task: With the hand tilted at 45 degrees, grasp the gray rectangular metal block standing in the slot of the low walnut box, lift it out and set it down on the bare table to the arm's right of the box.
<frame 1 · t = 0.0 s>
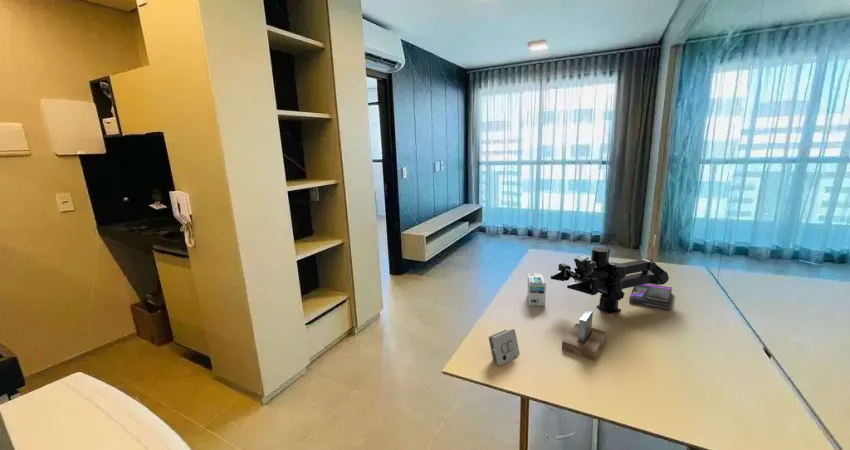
hand: (558, 281, 126), 17 cm above the table, tool horizontal, fingers open, 9 cm apart
light bulb box: (535, 300, 148), on the table
gray rectangular metal block: (584, 344, 113), point 1 cm above the table, touching walnut slot box
electrical switch: (503, 358, 110), on the table
box: (650, 299, 145), on the table
walnut slot box: (584, 347, 113), on the table
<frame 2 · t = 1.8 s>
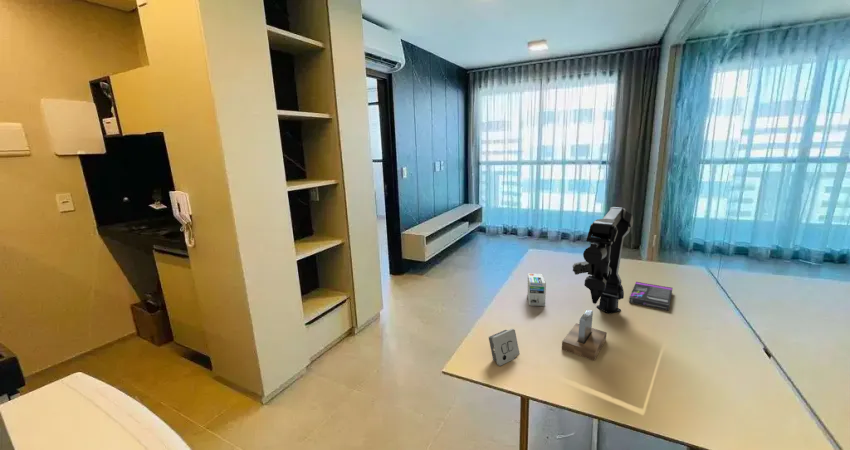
hand: (596, 298, 120), 13 cm above the table, tool pointing down, fingers open, 9 cm apart
nothing on the table moved.
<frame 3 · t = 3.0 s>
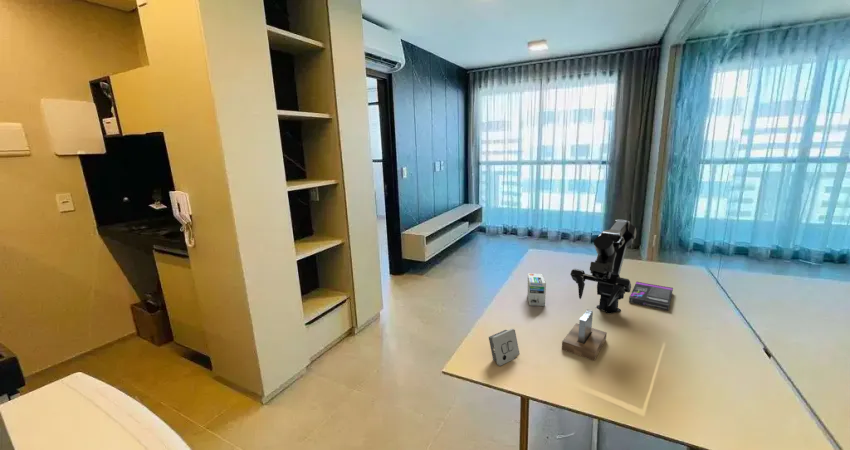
hand: (593, 302, 116), 13 cm above the table, tool tilted 45°, fingers open, 9 cm apart
nothing on the table moved.
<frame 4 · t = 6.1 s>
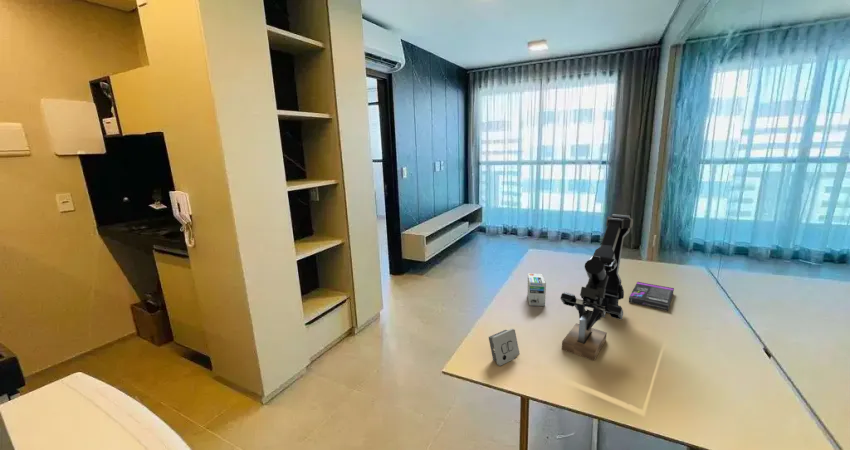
hand: (584, 328, 110), 8 cm above the table, tool tilted 45°, fingers closed on gray rectangular metal block, 2 cm apart
gray rectangular metal block: (584, 344, 113), point 1 cm above the table, touching gripper, walnut slot box
everything else where it was.
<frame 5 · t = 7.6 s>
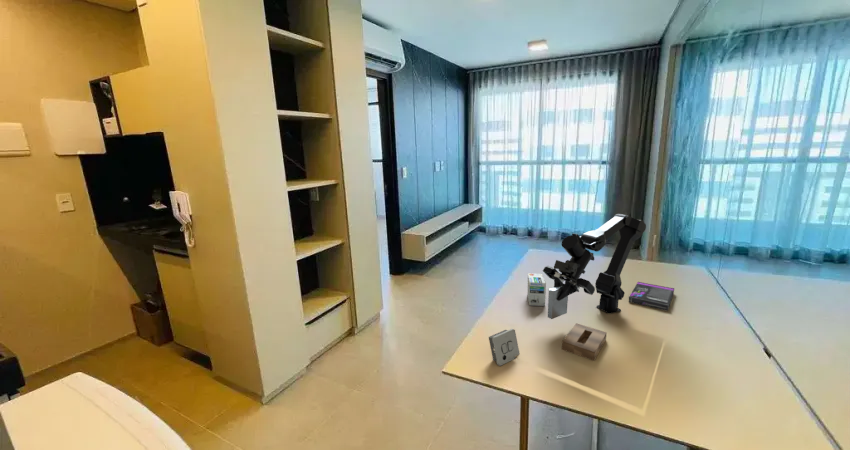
hand: (555, 299, 120), 13 cm above the table, tool tilted 45°, fingers closed on gray rectangular metal block
gray rectangular metal block: (557, 315, 122), point 7 cm above the table, touching gripper
everything else where it was.
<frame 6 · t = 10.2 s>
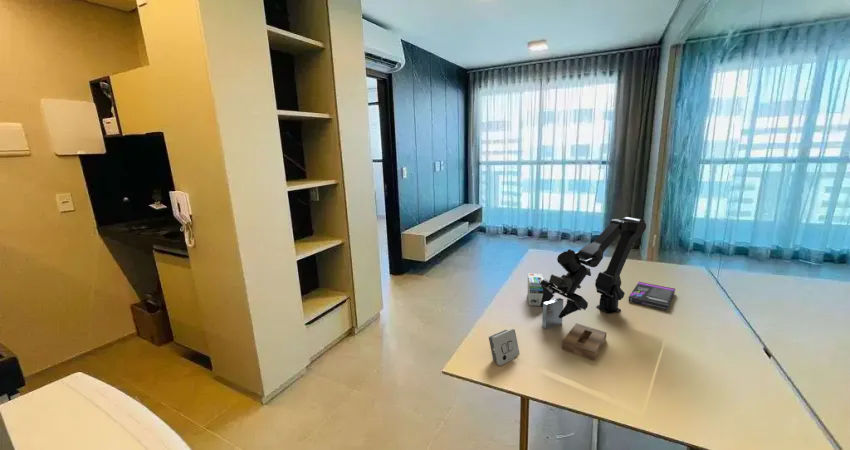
hand: (549, 312, 124), 7 cm above the table, tool tilted 45°, fingers open, 9 cm apart
gray rectangular metal block: (552, 327, 126), on the table
everything else where it was.
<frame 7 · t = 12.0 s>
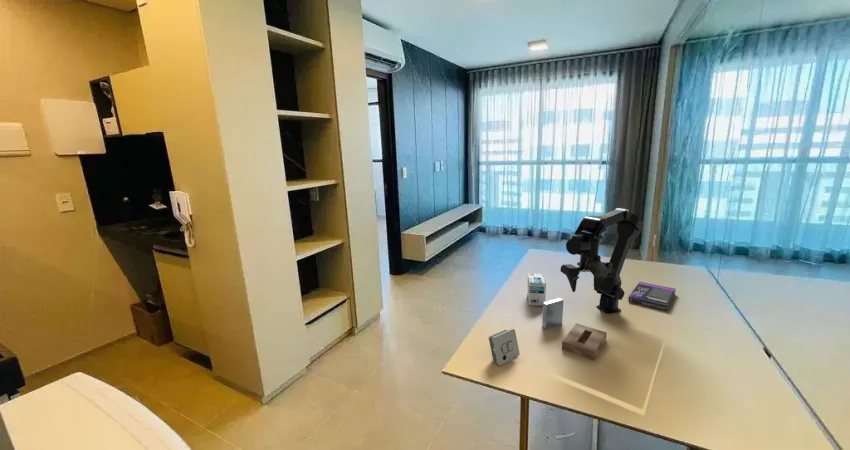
hand: (584, 291, 126), 13 cm above the table, tool pointing down, fingers open, 9 cm apart
nothing on the table moved.
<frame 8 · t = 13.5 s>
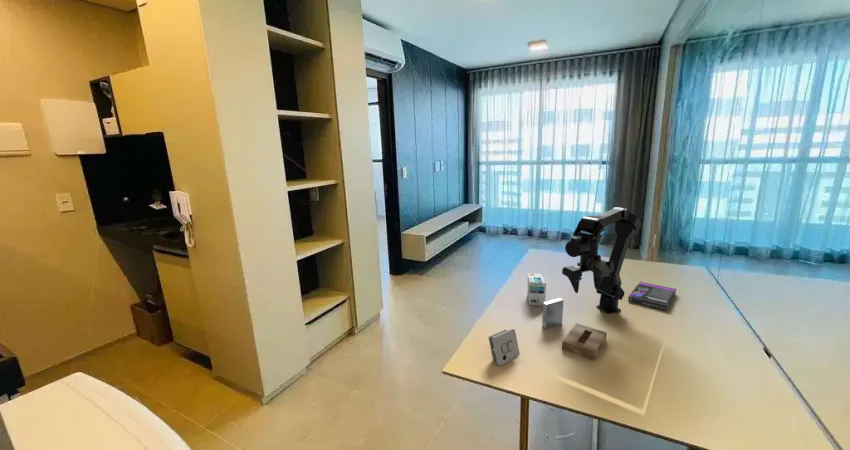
hand: (586, 290, 126), 13 cm above the table, tool pointing down, fingers open, 9 cm apart
nothing on the table moved.
at the end: gray rectangular metal block inside the target area (0.5 cm from its centre), on the table; gray rectangular metal block moved 14.2 cm from its start; the gripper is holding nothing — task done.
